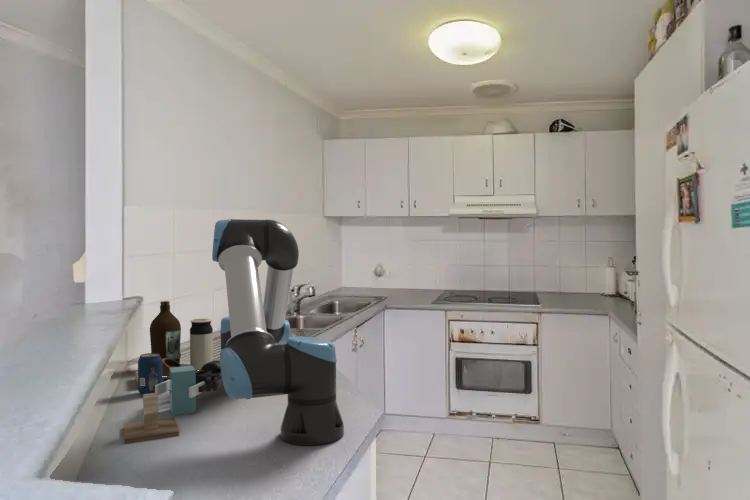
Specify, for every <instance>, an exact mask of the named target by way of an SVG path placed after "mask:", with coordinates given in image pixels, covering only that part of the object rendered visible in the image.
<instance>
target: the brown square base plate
mask: <svg viewBox="0 0 750 500" xmlns="http://www.w3.org/2000/svg"><path fill="white" fill-rule="evenodd" d="M142 400H143V401H142V405H143V407H142V408H143V409H142V410H143V411H142V413H143V417H142V418H143V420H142V421H136V422H127V423H123V433H124V434H123V436H124V437H123V438H124V444H131V443H137V442H143V441H144V442H145V441H150V440H157V439H164V438H170V437H171V438H172V437H177V436H180V430H179V426H178V424H177V420H176V418H175V416H173V417H171V416H170V417H163V418H159V395H157V393H151V394H143V397H142Z"/></svg>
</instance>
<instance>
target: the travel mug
mask: <svg viewBox="0 0 750 500" xmlns="http://www.w3.org/2000/svg"><path fill="white" fill-rule="evenodd" d="M190 323H191V326H190V329H189V354H190V356H189V357H190V358H189V360H190V365H189V366H193V367H194V369H195V370H201V368H202V367H203V365H205V364H206V363H208V362H211V361H213V360H214V337H213V336H214V335H213V334H214V333H213V326H212V319H211V318H194V319H190Z"/></svg>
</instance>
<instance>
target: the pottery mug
mask: <svg viewBox="0 0 750 500" xmlns="http://www.w3.org/2000/svg"><path fill="white" fill-rule="evenodd" d="M165 362H167V363H168V364H166V363H165ZM168 365H175V367H182V366H183V365H182V364H181V363H180V364H179V363H178V362H177V361H175V360H173V359H169V358H164V359H162V370H164V371H166V372H168V373H169V368H172V367H170V366H168Z"/></svg>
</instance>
